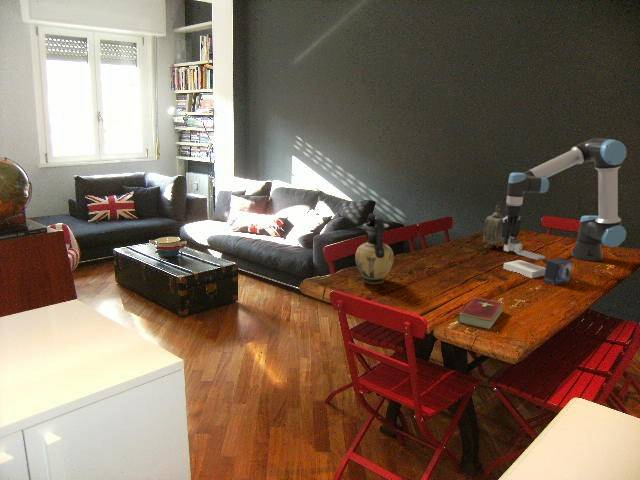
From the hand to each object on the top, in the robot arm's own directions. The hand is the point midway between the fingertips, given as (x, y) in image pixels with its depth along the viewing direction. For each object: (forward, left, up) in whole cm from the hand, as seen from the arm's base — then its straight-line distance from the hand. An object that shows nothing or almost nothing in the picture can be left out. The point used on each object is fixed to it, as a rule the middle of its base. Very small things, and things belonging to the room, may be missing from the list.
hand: (508, 250), depth 269 cm
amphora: (+76, -12, -8) cm, 77 cm away
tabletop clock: (-23, -28, -8) cm, 37 cm away
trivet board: (0, +11, -8) cm, 14 cm away
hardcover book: (+65, +41, -9) cm, 77 cm away
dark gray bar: (0, +7, 0) cm, 7 cm away
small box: (0, +28, -8) cm, 30 cm away
